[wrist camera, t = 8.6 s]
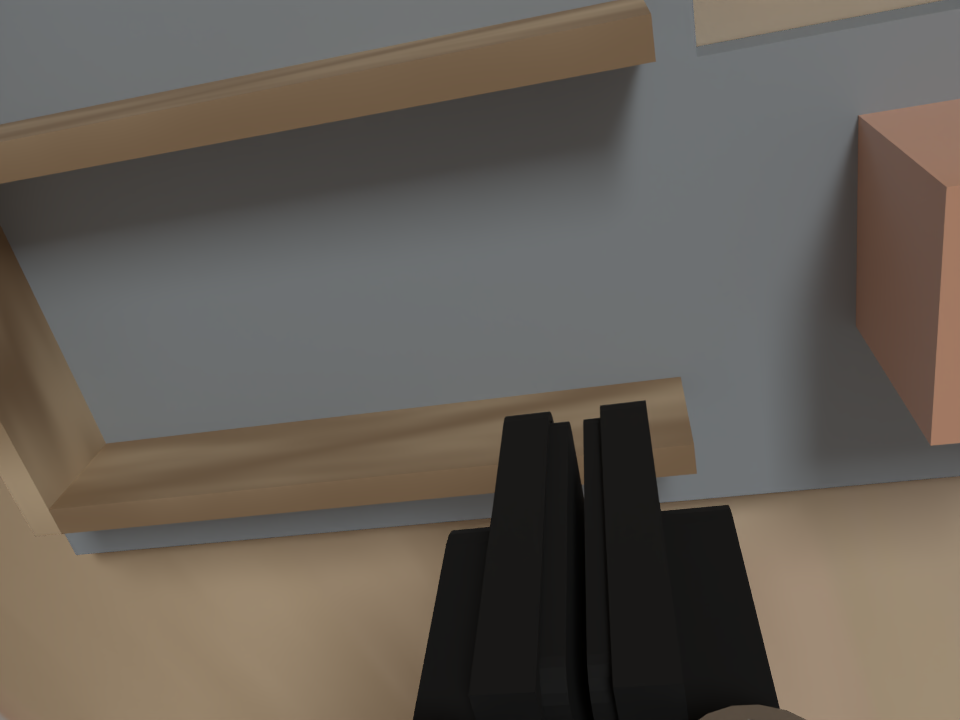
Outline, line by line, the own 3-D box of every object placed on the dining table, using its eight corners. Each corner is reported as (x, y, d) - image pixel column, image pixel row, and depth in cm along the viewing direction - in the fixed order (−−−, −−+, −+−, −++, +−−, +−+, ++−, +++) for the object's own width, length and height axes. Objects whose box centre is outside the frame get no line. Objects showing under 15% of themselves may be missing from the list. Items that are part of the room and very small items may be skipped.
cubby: (-73, 139, 20) (-170, 175, 18) (640, -5, 17) (650, 13, 15) (92, 468, 25) (35, 536, 22) (683, 403, 22) (697, 473, 19)
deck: (-222, -79, 19) (-267, -77, 18) (1213, -464, 14) (1264, -493, 13) (95, 529, 28) (76, 554, 27) (1077, 436, 22) (1102, 463, 21)
